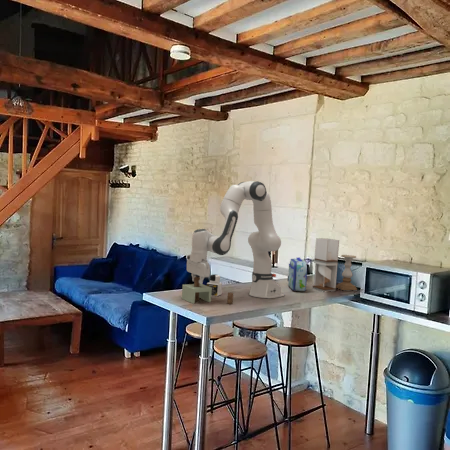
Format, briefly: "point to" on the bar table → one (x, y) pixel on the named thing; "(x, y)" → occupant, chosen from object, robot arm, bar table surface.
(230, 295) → the short pin
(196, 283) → the long pin
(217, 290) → the medicine bottle
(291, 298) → the bar table surface
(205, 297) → the bridge
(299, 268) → the lunch box
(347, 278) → the candle holder
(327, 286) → the white stand
